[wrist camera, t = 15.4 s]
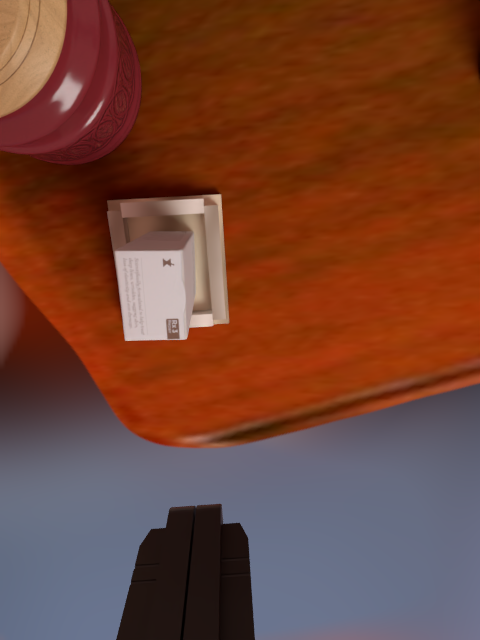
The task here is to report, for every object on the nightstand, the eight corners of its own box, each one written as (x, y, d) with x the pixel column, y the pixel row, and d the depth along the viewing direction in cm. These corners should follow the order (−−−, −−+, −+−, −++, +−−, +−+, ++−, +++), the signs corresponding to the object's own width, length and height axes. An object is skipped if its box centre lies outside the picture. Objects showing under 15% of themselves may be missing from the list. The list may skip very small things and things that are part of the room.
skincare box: (147, 230, 33) (106, 245, 22) (197, 230, 33) (182, 244, 22) (152, 297, 35) (117, 342, 23) (199, 296, 35) (187, 341, 24)
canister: (177, 75, 31) (119, -82, 14) (87, 199, 33) (-55, 193, 16) (41, -58, 28) (-246, -467, 11) (-47, 88, 30) (-387, -57, 13)
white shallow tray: (220, 194, 33) (220, 193, 31) (229, 320, 37) (229, 328, 35) (110, 200, 33) (101, 200, 31) (129, 326, 37) (122, 334, 34)
